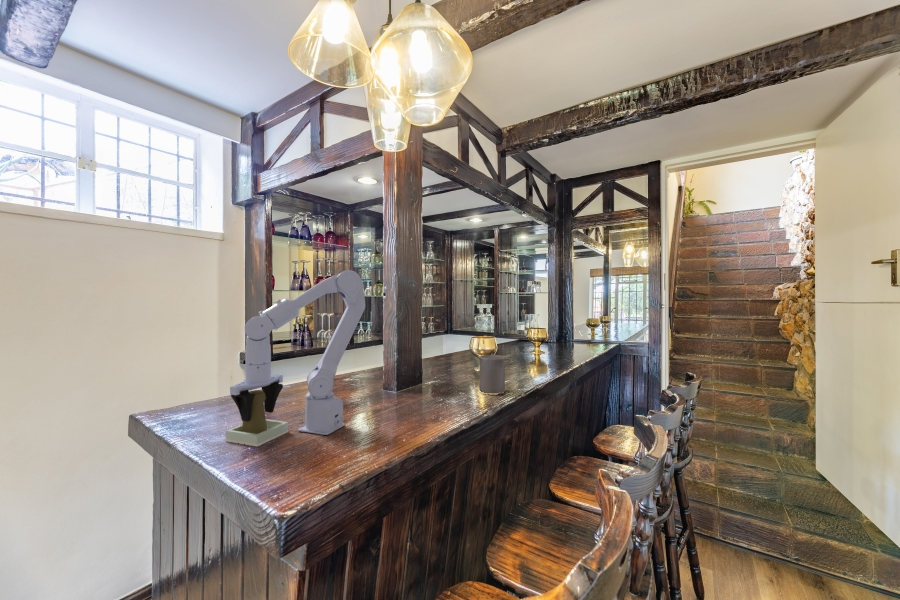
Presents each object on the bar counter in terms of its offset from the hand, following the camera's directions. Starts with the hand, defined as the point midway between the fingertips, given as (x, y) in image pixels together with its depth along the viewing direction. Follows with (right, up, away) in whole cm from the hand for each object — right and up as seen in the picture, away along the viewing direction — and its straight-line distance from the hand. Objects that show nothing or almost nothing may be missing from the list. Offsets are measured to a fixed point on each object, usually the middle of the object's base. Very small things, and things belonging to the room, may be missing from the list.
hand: (258, 416), depth 91 cm
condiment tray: (0, -5, 0) cm, 5 cm away
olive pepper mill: (-1, -5, 0) cm, 5 cm away
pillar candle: (+65, -6, +45) cm, 79 cm away
